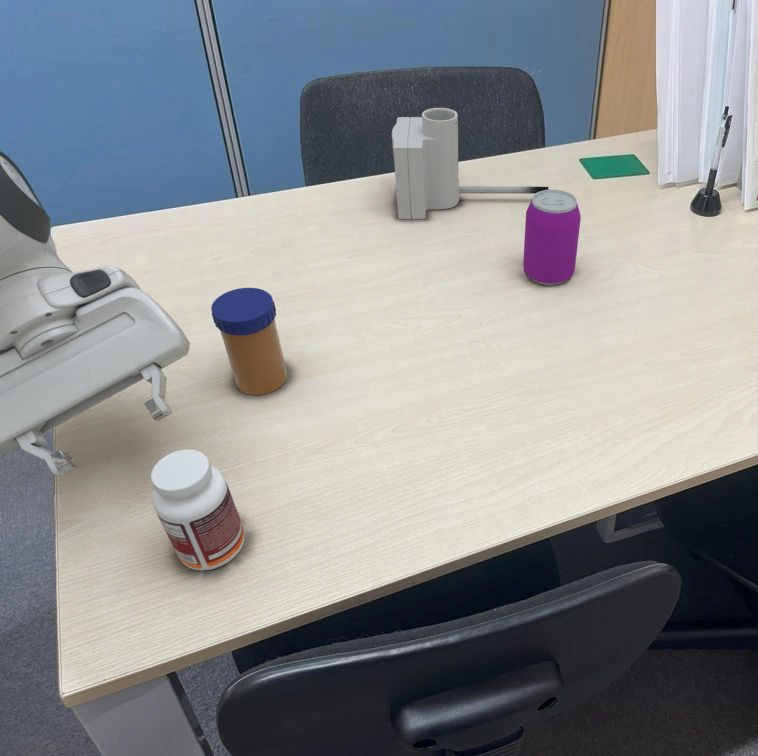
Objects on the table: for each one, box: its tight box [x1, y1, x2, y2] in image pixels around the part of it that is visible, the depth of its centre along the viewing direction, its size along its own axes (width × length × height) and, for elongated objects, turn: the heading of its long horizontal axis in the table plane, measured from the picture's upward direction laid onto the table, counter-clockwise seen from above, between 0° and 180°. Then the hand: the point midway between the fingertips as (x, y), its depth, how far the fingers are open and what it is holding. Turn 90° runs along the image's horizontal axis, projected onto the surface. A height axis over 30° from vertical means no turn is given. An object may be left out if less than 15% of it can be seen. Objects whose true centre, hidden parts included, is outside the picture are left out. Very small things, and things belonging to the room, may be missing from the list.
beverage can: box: [522, 189, 582, 286], centre depth 101 cm, size 8×8×12 cm
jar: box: [219, 319, 288, 396], centre depth 82 cm, size 6×6×11 cm
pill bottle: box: [150, 449, 246, 571], centre depth 64 cm, size 6×6×11 cm
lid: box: [210, 287, 277, 335], centre depth 79 cm, size 7×7×2 cm
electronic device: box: [391, 107, 550, 220], centre depth 116 cm, size 12×26×15 cm, turn 93°
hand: (115, 443), depth 65 cm, fingers open, 8 cm apart
